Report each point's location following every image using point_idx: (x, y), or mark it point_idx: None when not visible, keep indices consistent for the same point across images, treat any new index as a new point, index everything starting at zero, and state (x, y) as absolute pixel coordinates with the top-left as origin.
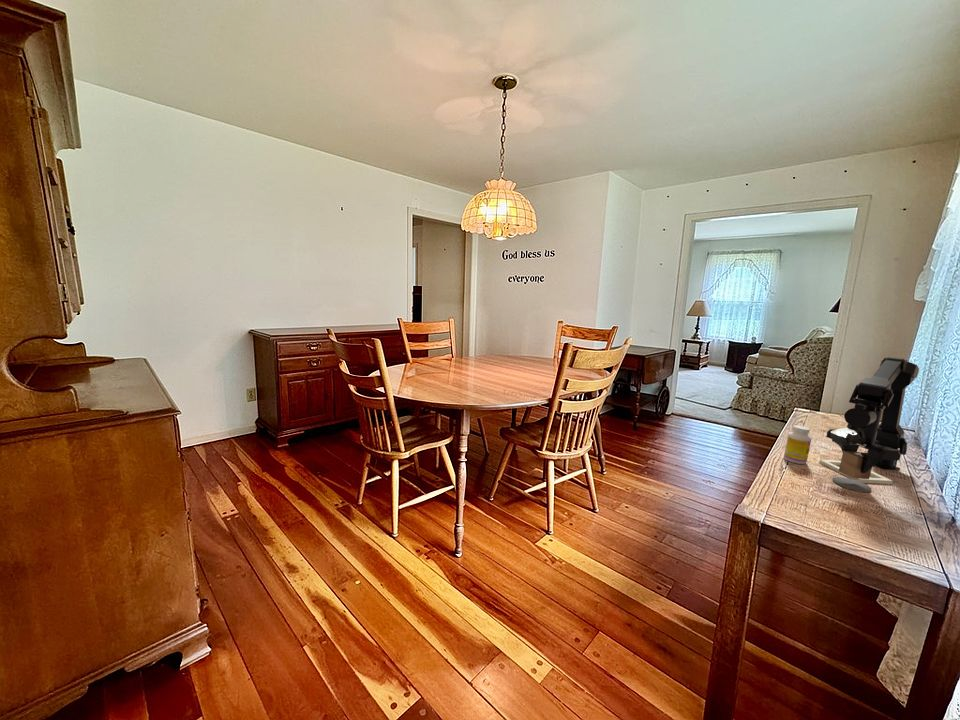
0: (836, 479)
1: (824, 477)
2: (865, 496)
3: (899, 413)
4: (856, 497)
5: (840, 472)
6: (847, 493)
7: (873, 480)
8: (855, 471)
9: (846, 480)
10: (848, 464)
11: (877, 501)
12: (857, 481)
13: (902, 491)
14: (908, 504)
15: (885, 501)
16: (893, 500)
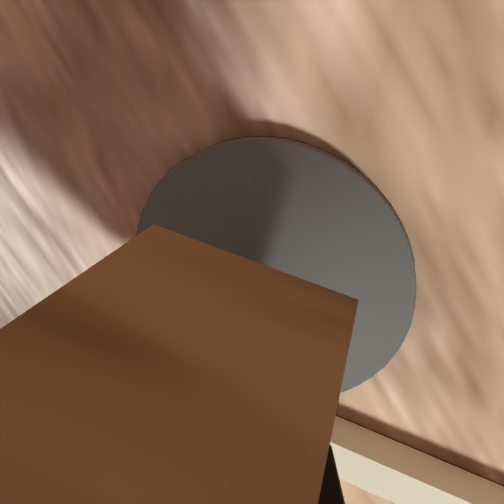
0: (367, 236)
1: (487, 205)
2: (83, 143)
3: None
4: (57, 12)
5: (483, 485)
6: (127, 8)
7: None
8: (89, 275)
9: None
10: (174, 354)
11: (15, 144)
12: None
13: None
14: (11, 318)
15: (25, 214)
16: (47, 292)
